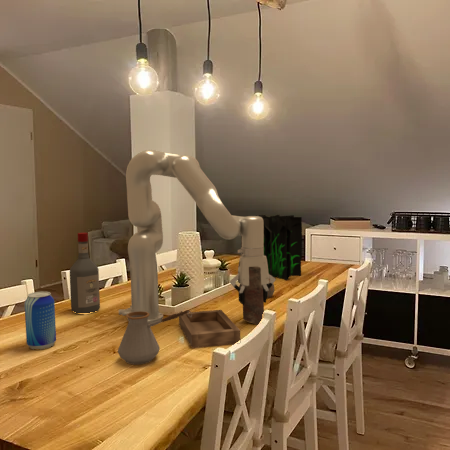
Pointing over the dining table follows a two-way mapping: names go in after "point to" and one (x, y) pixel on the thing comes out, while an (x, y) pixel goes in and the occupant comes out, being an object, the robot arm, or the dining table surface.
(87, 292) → the liquor
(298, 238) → the black pleated panel block
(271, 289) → the brown egg
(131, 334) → the coffee pot
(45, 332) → the beer can
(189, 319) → the wooden tray
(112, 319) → the dining table surface
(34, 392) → the dining table surface
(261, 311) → the dark brown block
